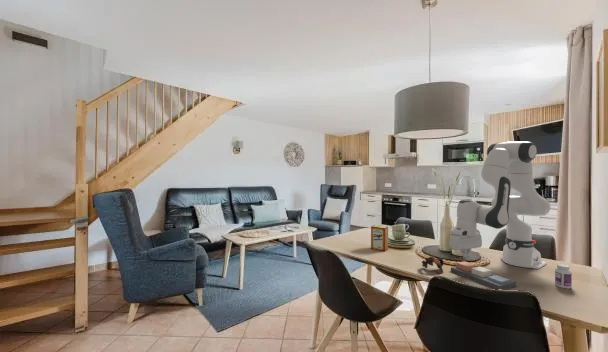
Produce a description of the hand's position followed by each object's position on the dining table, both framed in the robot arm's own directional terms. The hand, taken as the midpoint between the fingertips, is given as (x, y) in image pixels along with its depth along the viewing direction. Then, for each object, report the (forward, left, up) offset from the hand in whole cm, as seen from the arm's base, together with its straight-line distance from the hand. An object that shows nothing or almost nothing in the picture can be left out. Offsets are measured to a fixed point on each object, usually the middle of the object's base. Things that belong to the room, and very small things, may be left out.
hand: (466, 256), depth 134 cm
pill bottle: (-27, +27, -9) cm, 39 cm away
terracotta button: (-1, -1, -7) cm, 7 cm away
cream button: (-1, +7, -7) cm, 10 cm away
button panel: (-1, +7, -8) cm, 11 cm away
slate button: (-1, +15, -8) cm, 18 cm away
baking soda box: (+15, -51, -9) cm, 54 cm away
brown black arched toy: (+12, -9, -9) cm, 18 cm away
